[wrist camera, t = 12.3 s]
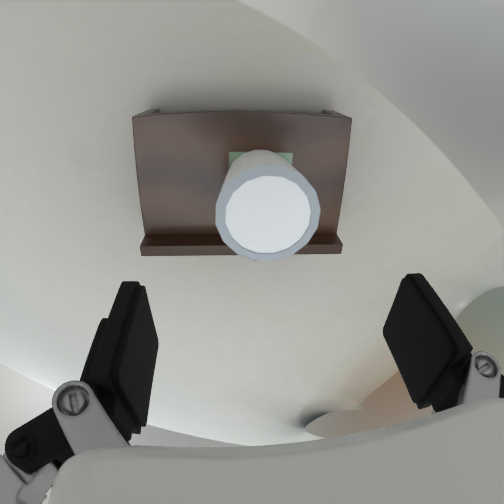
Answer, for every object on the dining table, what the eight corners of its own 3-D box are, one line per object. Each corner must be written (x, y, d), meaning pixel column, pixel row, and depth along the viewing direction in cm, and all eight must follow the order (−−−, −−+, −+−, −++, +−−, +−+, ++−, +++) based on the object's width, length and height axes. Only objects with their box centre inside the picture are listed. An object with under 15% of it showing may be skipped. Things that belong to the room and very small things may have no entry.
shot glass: (244, 231, 28) (249, 277, 22) (202, 168, 25) (193, 201, 19) (313, 195, 27) (336, 233, 21) (276, 127, 23) (291, 145, 17)
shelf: (147, 109, 26) (124, 120, 20) (334, 111, 28) (361, 121, 22) (156, 221, 33) (141, 256, 27) (322, 220, 34) (341, 253, 28)
